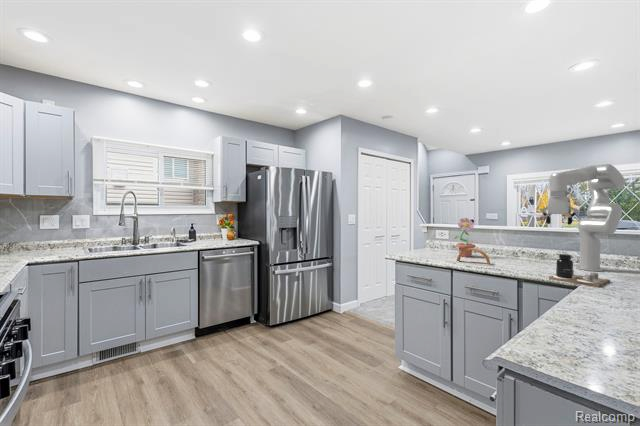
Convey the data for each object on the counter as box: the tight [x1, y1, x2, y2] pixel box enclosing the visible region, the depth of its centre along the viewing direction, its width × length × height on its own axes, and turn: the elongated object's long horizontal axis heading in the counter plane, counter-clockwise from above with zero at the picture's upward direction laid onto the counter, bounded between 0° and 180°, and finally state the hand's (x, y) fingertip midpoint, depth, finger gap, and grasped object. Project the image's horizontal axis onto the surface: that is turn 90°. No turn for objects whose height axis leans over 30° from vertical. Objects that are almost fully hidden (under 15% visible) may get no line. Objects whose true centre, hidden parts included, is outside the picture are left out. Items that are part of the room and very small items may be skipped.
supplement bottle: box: [555, 253, 574, 278], centre depth 159 cm, size 7×7×12 cm
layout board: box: [548, 269, 611, 288], centre depth 157 cm, size 19×20×4 cm
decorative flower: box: [454, 217, 476, 258], centre depth 235 cm, size 15×14×30 cm
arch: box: [456, 247, 491, 265], centre depth 208 cm, size 6×20×10 cm, turn 52°
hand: (558, 224), depth 174 cm, fingers open, 9 cm apart
